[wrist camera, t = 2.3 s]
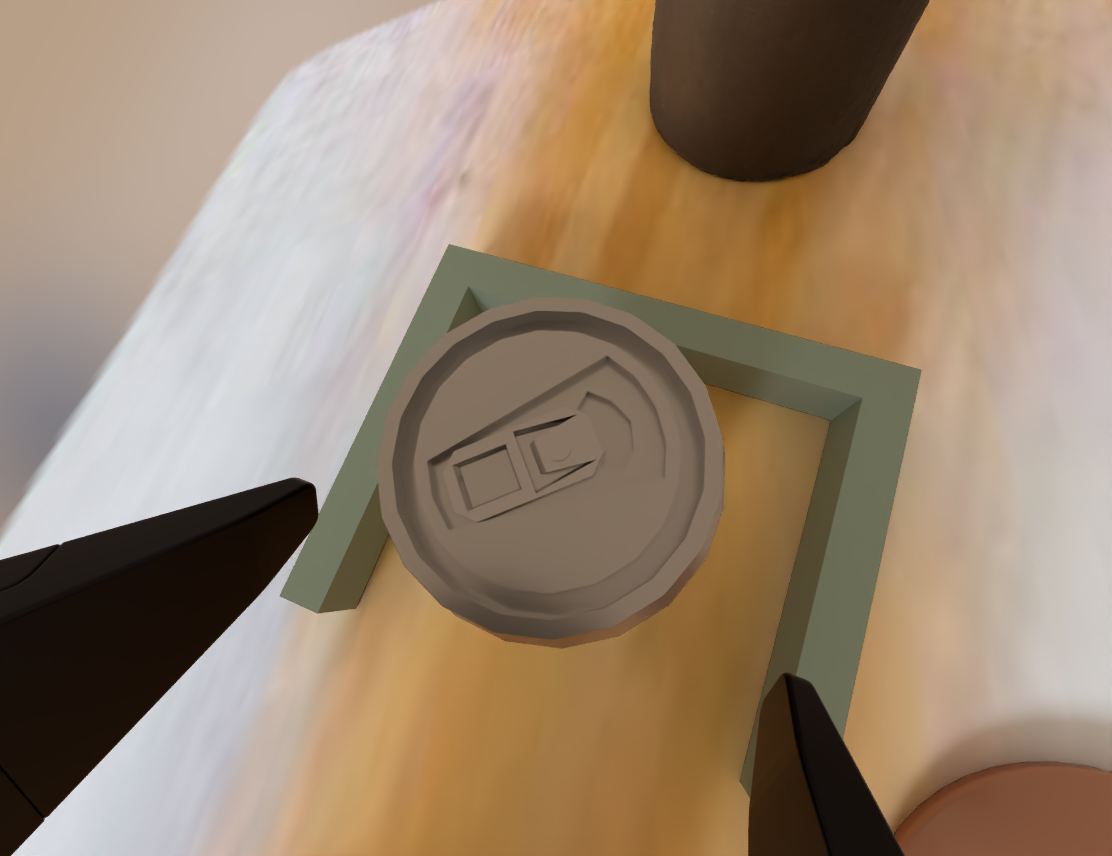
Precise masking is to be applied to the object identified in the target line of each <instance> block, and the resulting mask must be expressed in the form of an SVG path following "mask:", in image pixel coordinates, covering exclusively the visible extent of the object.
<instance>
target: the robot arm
mask: <svg viewBox="0 0 1112 856" xmlns="http://www.w3.org/2000/svg"><path fill="white" fill-rule="evenodd" d="M318 515H319V513H318V504H317V495H316V488H315V486H314V485H313V484H312V483H310V482H307V481H305V480H302V479H300V478H289V479H285V480H282V481H278V482H275V483H271V484H267V485H264V486H260V487H257V488H253V489H250V490H246V491H243V492H239V493H236V494H232V495H229V496H225V497H222V498H218V499H215V500H211V501H208V502H204V503H201V504H197V505H194V506H190V507H187V508H183V509H180V510H176V511H173V512H169V513H166V514H162V515H159V516H155V517H151V518H148V519H144V520H141V521H137V522H134V523H130V524H127V525H123V526H120V527H116V528H113V529H109V530H106V531H102V532H99V533H95V534H92V535H88V536H85V537H81V538H78V539H74V540H70V541H67V542H64V543H62V544H61V545H59V544H56V545H53V546H49V547H46V548H42V549H39V550H35V551H32V552H28V553H24V554H21V555H17V556H13V557H10V558H6V559H2V560H0V856H11V855H12V854H13V853H14V852H15V851H16V850H17V849H18V848H19V847H20V846H21V845H22V844H23V843H24V842H25V840H26V839H27V838H28V837H29V836H30V835H31V834H32V833H33V832H34V831H35V830H36V829H37V828H38V827H39V826H40V825H41V824H42V823H43V822H44V820H45V818H46V817H48V816H49V815H50V814H51V813H52V812H53V811H54V810H55V809H56V808H57V806H58V805H59V804H60V803H61V802H62V801H63V800H64V799H65V798H66V797H67V796H68V795H69V794H70V793H71V792H72V791H73V790H74V789H75V788H76V787H77V786H78V784H79V783H80V782H81V781H82V780H83V779H84V778H85V777H86V776H87V775H88V774H89V773H90V772H91V771H92V770H93V769H94V768H95V767H96V766H97V765H98V764H99V762H100V761H101V760H102V759H103V758H104V757H105V756H106V755H107V754H108V753H109V752H110V751H111V750H112V749H113V748H114V747H115V746H116V745H117V744H118V743H119V742H120V740H121V739H122V738H123V737H124V736H125V735H126V734H127V733H128V732H129V731H130V730H131V729H132V728H133V727H134V726H135V725H136V724H137V723H138V722H139V721H140V720H141V718H142V717H143V716H144V715H145V714H146V713H147V712H148V711H149V710H150V709H151V708H152V707H153V706H154V705H155V704H156V703H157V702H158V701H159V700H160V699H161V698H162V696H163V695H164V694H165V693H166V692H167V691H168V690H169V689H170V688H171V687H172V686H173V685H174V684H175V683H176V682H177V681H178V680H179V679H180V678H181V677H182V676H183V674H184V673H185V672H186V671H187V670H188V669H189V668H190V667H191V666H192V665H193V664H194V663H195V662H196V661H197V660H198V659H199V658H200V657H201V656H202V655H203V654H204V652H205V651H206V650H207V649H208V648H209V647H210V646H211V645H212V644H213V643H214V642H215V641H216V640H217V639H218V638H219V637H220V636H221V635H222V634H223V633H224V632H225V630H226V629H227V628H228V627H229V626H230V625H231V624H232V623H233V622H234V621H235V620H236V619H237V618H238V617H239V616H240V615H241V614H242V613H243V612H244V611H245V610H246V608H247V607H248V606H249V605H250V604H251V603H252V602H253V601H254V600H255V599H256V598H257V597H258V596H259V595H260V594H261V592H262V591H263V590H264V589H265V588H266V587H267V586H268V584H269V583H270V582H271V581H272V580H273V578H274V577H275V576H276V575H277V573H278V572H279V571H280V570H281V568H282V567H283V566H284V564H285V563H286V562H287V561H288V559H289V558H290V557H291V556H292V554H293V553H294V552H295V550H296V549H297V548H298V547H299V545H300V544H301V543H302V542H303V540H304V539H305V538H306V537H307V535H308V534H309V533H310V531H311V530H312V529H313V528H314V526H315V524H316V523H317V520H318ZM748 856H905V855H904V853H903V851H902V849H901V847H900V845H899V843H898V842H897V840H896V838H895V836H894V834H893V832H892V830H891V829H890V827H889V825H888V823H887V821H886V819H885V817H884V815H883V814H882V812H881V810H880V808H879V806H878V804H877V802H876V801H875V799H874V797H873V795H872V793H871V791H870V789H869V788H868V786H867V784H866V782H865V780H864V778H863V776H862V775H861V773H860V771H859V769H858V767H857V765H856V763H855V762H854V760H853V758H852V756H851V754H850V752H849V750H848V749H847V747H846V745H845V743H844V741H843V739H842V737H841V736H840V734H839V732H838V730H837V728H836V726H835V724H834V723H833V721H832V719H831V717H830V715H829V713H828V711H827V709H826V708H825V706H824V704H823V702H822V700H821V698H820V696H819V695H818V693H817V691H816V689H815V687H814V686H813V685H812V683H811V682H809V681H808V680H806V679H804V678H801V677H798V676H796V675H793V674H791V673H788V672H785V673H783V674H781V675H780V676H779V678H778V679H777V681H776V682H775V684H774V685H773V687H772V688H771V690H770V691H769V692H768V694H767V695H766V697H765V698H764V700H763V703H762V706H761V710H760V716H759V725H758V734H757V743H756V751H755V760H754V769H753V777H752V786H751V795H750V806H749V826H748Z"/></svg>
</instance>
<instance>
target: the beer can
mask: <svg viewBox="0 0 1112 856" xmlns="http://www.w3.org/2000/svg"><path fill="white" fill-rule="evenodd" d="M376 467H377V477H378V486H379V496H380V505H381V514H382V519H383V521H384V523H385V525H386V527H387V530H388V532H389V534H390V536H391V538H392V541H393V543H394V545H395V547H396V549H397V552H398V554H399V556H400V558H401V560H402V563H403V565H404V567H405V568H406V569H407V570H408V571H409V572H410V573H411V574H412V575H413V576H414V577H415V578H416V579H417V580H418V581H419V582H420V583H421V584H422V585H423V587H424V588H425V589H426V590H427V591H428V592H429V593H430V594H431V595H432V596H433V597H434V598H435V599H436V600H437V601H438V602H439V603H440V604H441V605H442V606H443V607H445V608H447V609H449V610H450V611H451V612H452V613H453V614H454V615H455V616H457V617H459V618H461V619H463V620H465V621H467V622H469V623H470V624H472V625H474V626H476V627H478V628H480V629H482V630H484V631H486V632H488V633H490V634H492V635H494V636H496V637H498V638H500V639H502V640H504V641H508V642H515V643H523V644H531V645H539V646H546V647H554V648H567V647H571V646H576V645H581V644H585V643H590V642H594V641H599V640H604V639H608V638H613V637H617V636H620V635H622V634H623V633H625V632H626V631H628V630H630V629H631V628H633V627H635V626H636V625H638V624H639V623H641V622H643V621H644V620H646V619H648V618H649V617H651V616H652V615H654V614H656V613H657V612H659V611H661V610H662V609H664V608H665V607H667V606H669V604H670V603H671V602H672V601H673V599H674V598H675V597H676V596H677V595H678V593H679V592H680V591H681V590H682V588H683V587H684V586H685V585H686V583H687V582H688V581H689V580H690V578H691V577H692V576H693V575H694V574H695V572H696V571H697V570H698V569H699V567H700V566H701V565H702V564H703V562H704V561H705V559H706V556H707V554H708V551H709V548H710V545H711V543H712V540H713V537H714V534H715V531H716V529H717V526H718V523H719V520H720V518H721V515H722V512H723V509H724V478H725V452H724V449H723V437H722V433H721V430H720V427H719V424H718V421H717V418H716V415H715V412H714V409H713V406H712V403H711V400H710V397H709V394H708V391H707V388H706V385H705V384H704V383H703V381H702V380H701V379H700V377H699V376H698V375H697V373H696V372H695V371H694V369H693V368H692V366H691V365H690V364H689V362H688V361H687V360H686V358H685V357H684V356H683V354H682V353H681V352H680V350H679V349H678V348H677V346H676V345H675V344H674V343H673V342H671V341H670V340H668V339H667V338H666V337H664V336H663V335H661V334H660V333H659V332H657V331H656V330H654V329H653V328H652V327H650V326H649V325H647V324H646V323H645V322H643V321H642V320H640V319H639V318H638V317H636V316H635V315H633V314H630V313H627V312H624V311H621V310H618V309H615V308H612V307H609V306H606V305H603V304H600V303H597V302H594V301H591V300H588V299H576V298H545V297H535V298H531V299H527V300H523V301H520V302H516V303H512V304H508V305H504V306H500V307H496V308H492V309H488V310H486V311H485V312H483V313H481V314H479V315H478V316H476V317H474V318H472V319H471V320H469V321H467V322H466V323H464V324H462V325H460V326H459V327H457V328H455V329H453V330H452V331H450V332H448V333H446V334H445V335H444V336H443V337H442V338H441V339H440V340H439V341H438V342H437V343H436V344H435V345H434V346H433V347H432V348H431V349H430V350H429V351H428V352H427V353H426V354H425V355H424V356H423V357H422V359H421V360H420V361H419V362H418V363H417V364H416V365H415V366H414V367H413V368H412V369H411V370H410V372H409V373H408V375H407V377H406V379H405V381H404V383H403V385H402V386H401V388H400V390H399V392H398V394H397V396H396V398H395V400H394V401H393V403H392V405H391V407H390V409H389V411H388V413H387V414H386V419H385V424H384V429H383V434H382V439H381V444H380V449H379V454H378V459H377V464H376Z"/></svg>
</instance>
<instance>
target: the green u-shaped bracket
mask: <svg viewBox="0 0 1112 856" xmlns="http://www.w3.org/2000/svg"><path fill="white" fill-rule="evenodd" d="M535 297H545V298H576V299H588V300H591V301H594V302H597V303H600V304H603V305H606V306H609V307H612V308H615V309H618V310H621V311H624V312H627V313H630V314H633V315H635V316H636V317H638V318H639V319H640V320H642V321H643V322H645V323H646V324H647V325H649V326H650V327H652V328H653V329H654V330H656V331H657V332H659V333H660V334H661V335H663V336H664V337H666V338H667V339H668V340H670V341H671V342H673V343H674V344H675V345H676V346H677V348H678V349H679V350H680V352H681V353H682V354H683V356H684V357H685V358H686V360H687V361H688V362H689V364H690V365H691V366H692V368H693V369H694V371H695V372H696V373H697V375H698V376H699V377H700V379H701V380H702V381H703V383H706V384H709V385H713V386H716V387H719V388H723V389H726V390H730V391H733V392H736V393H740V394H743V395H747V396H750V397H753V398H757V399H760V400H763V401H767V402H770V403H774V404H777V405H780V406H784V407H787V408H791V409H794V410H797V411H801V412H804V413H808V414H811V415H814V416H818V417H821V418H825V419H828V420H831V422H830V426H829V430H828V434H827V438H826V442H825V446H824V450H823V454H822V458H821V462H820V466H819V470H818V474H817V478H816V482H815V485H814V489H813V493H812V497H811V501H810V505H809V509H808V513H807V517H806V521H805V525H804V529H803V533H802V537H801V541H800V545H799V549H798V553H797V557H796V561H795V565H794V569H793V573H792V577H791V580H790V584H789V588H788V592H787V596H786V600H785V604H784V608H783V612H782V616H781V620H780V624H779V628H778V632H777V636H776V640H775V644H774V648H773V652H772V656H771V660H770V664H769V668H768V672H767V676H766V679H765V683H764V687H763V691H762V695H761V699H760V703H759V707H758V711H757V715H756V719H755V723H754V727H753V731H752V735H751V739H750V743H749V747H748V751H747V755H746V759H745V763H744V767H743V771H742V774H741V778H740V782H741V784H742V785H743V787H744V789H745V790H746V792H747V794H748V795H749V797H750V795H751V786H752V777H753V769H754V760H755V751H756V743H757V734H758V725H759V716H760V710H761V706H762V703H763V700H764V698H765V697H766V695H767V694H768V692H769V691H770V690H771V688H772V687H773V685H774V684H775V682H776V681H777V679H778V678H779V676H780V675H781V674H783V673H785V672H788V673H791V674H793V675H796V676H798V677H801V678H804V679H806V680H808V681H809V682H811V683H812V685H813V686H814V687H815V689H816V691H817V693H818V695H819V696H820V698H821V700H822V702H823V704H824V706H825V708H826V709H827V711H828V713H829V715H830V717H831V719H832V721H833V723H834V724H835V726H836V728H837V730H838V732H839V734H840V736H841V737H842V739H843V735H844V730H845V726H846V721H847V716H848V712H849V707H850V702H851V698H852V693H853V688H854V684H855V679H856V674H857V670H858V665H859V660H860V655H861V651H862V646H863V641H864V637H865V632H866V627H867V623H868V618H869V613H870V609H871V604H872V599H873V595H874V590H875V585H876V581H877V576H878V571H879V566H880V562H881V557H882V552H883V548H884V543H885V538H886V534H887V529H888V524H889V520H890V515H891V510H892V506H893V501H894V496H895V492H896V487H897V482H898V477H899V473H900V468H901V463H902V459H903V454H904V449H905V445H906V440H907V435H908V431H909V426H910V421H911V417H912V412H913V407H914V403H915V398H916V393H917V388H918V384H919V379H920V374H921V370H920V369H916V368H913V367H909V366H905V365H901V364H898V363H894V362H890V361H886V360H883V359H879V358H875V357H871V356H868V355H864V354H860V353H856V352H853V351H849V350H845V349H841V348H837V347H834V346H830V345H826V344H822V343H819V342H815V341H811V340H807V339H804V338H800V337H796V336H792V335H789V334H785V333H781V332H777V331H774V330H770V329H766V328H762V327H759V326H755V325H751V324H747V323H744V322H740V321H736V320H732V319H728V318H725V317H721V316H717V315H713V314H710V313H706V312H702V311H698V310H695V309H691V308H687V307H683V306H680V305H676V304H672V303H668V302H665V301H661V300H657V299H653V298H650V297H646V296H642V295H638V294H634V293H631V292H627V291H623V290H619V289H616V288H612V287H608V286H604V285H601V284H597V283H593V282H589V281H586V280H582V279H578V278H574V277H571V276H567V275H563V274H559V273H556V272H552V271H548V270H544V269H540V268H537V267H533V266H529V265H525V264H522V263H518V262H514V261H510V260H507V259H503V258H499V257H495V256H492V255H488V254H484V253H480V252H477V251H473V250H469V249H465V248H462V247H458V246H454V245H450V244H449V245H448V247H447V249H446V251H445V253H444V255H443V258H442V260H441V262H440V264H439V266H438V268H437V270H436V272H435V274H434V276H433V278H432V280H431V282H430V285H429V287H428V289H427V291H426V293H425V295H424V297H423V299H422V301H421V303H420V305H419V307H418V309H417V312H416V314H415V316H414V318H413V320H412V322H411V324H410V326H409V328H408V330H407V332H406V334H405V336H404V339H403V341H402V343H401V345H400V347H399V349H398V351H397V353H396V355H395V357H394V359H393V361H392V363H391V366H390V368H389V370H388V372H387V374H386V376H385V378H384V380H383V382H382V384H381V386H380V388H379V390H378V393H377V395H376V397H375V399H374V401H373V403H372V405H371V407H370V409H369V411H368V413H367V415H366V417H365V420H364V422H363V424H362V426H361V428H360V430H359V432H358V434H357V436H356V438H355V440H354V442H353V444H352V447H351V449H350V451H349V453H348V455H347V457H346V459H345V461H344V463H343V465H342V467H341V469H340V471H339V474H338V476H337V478H336V480H335V482H334V484H333V486H332V488H331V490H330V492H329V494H328V496H327V498H326V501H325V503H324V505H323V507H322V509H321V511H320V513H319V515H318V520H317V523H316V524H315V526H314V528H313V529H312V530H311V532H310V534H309V536H308V538H307V540H306V542H305V544H304V546H303V548H302V550H301V552H300V555H299V557H298V559H297V561H296V563H295V565H294V567H293V569H292V571H291V573H290V575H289V577H288V579H287V582H286V584H285V586H284V588H283V590H282V592H281V594H280V596H281V597H283V598H285V599H287V600H289V601H291V602H294V603H296V604H298V605H300V606H302V607H304V608H307V609H309V610H311V611H313V612H315V613H325V612H333V611H341V610H348V609H356V607H357V604H358V602H359V600H360V598H361V595H362V593H363V591H364V589H365V586H366V584H367V582H368V580H369V577H370V575H371V573H372V571H373V568H374V566H375V564H376V562H377V559H378V557H379V555H380V553H381V550H382V548H383V546H384V544H385V541H386V539H387V537H388V535H389V532H388V530H387V527H386V525H385V523H384V521H383V519H382V514H381V505H380V496H379V486H378V477H377V467H376V464H377V459H378V454H379V449H380V444H381V439H382V434H383V429H384V424H385V419H386V414H387V413H388V411H389V409H390V407H391V405H392V403H393V401H394V400H395V398H396V396H397V394H398V392H399V390H400V388H401V386H402V385H403V383H404V381H405V379H406V377H407V375H408V373H409V372H410V370H411V369H412V368H413V367H414V366H415V365H416V364H417V363H418V362H419V361H420V360H421V359H422V357H423V356H424V355H425V354H426V353H427V352H428V351H429V350H430V349H431V348H432V347H433V346H434V345H435V344H436V343H437V342H438V341H439V340H440V339H441V338H442V337H443V336H444V335H445V334H446V333H448V332H450V331H452V330H453V329H455V328H457V327H459V326H460V325H462V324H464V323H466V322H467V321H469V320H471V319H472V318H474V317H476V316H478V315H479V314H481V313H483V312H485V311H486V310H488V309H492V308H496V307H500V306H504V305H508V304H512V303H516V302H520V301H523V300H527V299H531V298H535Z"/></svg>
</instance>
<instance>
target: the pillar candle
mask: <svg viewBox="0 0 1112 856" xmlns="http://www.w3.org/2000/svg"><path fill="white" fill-rule="evenodd" d="M928 3H929V0H656V3H655V5H656V7H655V13H654V21H653V31H652V35H653V36H652V47H651V80H650V108H651V114H652V118H653V120H654V124H655V126H656V128H657V130H658V132H659V133H660V134H661V136H662V138H663V139H664V140H665V142H666V143H667V144H669V145H670V146H671V147H672V148H673V149H674V150H675V151H676V152H677V153H678V154H679V155H680V156H682V157H683V158H684V159H686V160H687V161H688V162H690V163H691V164H692V165H695V166H696V167H697V168H699V169H701V170H703V171H706V172H708V173H711V174H716V175H718V176H720V177H724V178H732V179H738V180H740V181H746V180H750V181H754V180H755V181H765V180H776V179H782V178H785V177H788V176H794V175H795V174H799V173H805V172H809V171H811V170H813V169H816V168H818V167H821V166H823V165H824V164H826V163H828V162H829V161H830V159H831V158H832V157H833V156H835V155H836V154H837V153H838V152H839V151H840V150H841V149H842V148H843V147H845V146H847V145H848V144H850V143H851V141H852V140H853V139H854V138H855V137H856V135H857V133H858V132H859V130H860V128H861V126H862V125H863V124H864V122H865V120H866V118H867V116H868V114H869V112H870V110H871V108H872V107H873V105H874V103H875V101H876V99H877V97H878V96H879V94H880V92H881V90H882V88H883V86H884V84H885V82H886V80H887V78H888V76H889V74H890V73H891V71H892V70H893V68H894V66H895V64H896V62H897V60H898V59H899V57H900V55H901V53H902V51H903V50H904V48H905V46H906V44H907V42H908V40H909V38H910V36H911V34H912V32H913V30H914V28H915V26H916V24H917V23H918V21H919V20H920V18H921V16H922V14H923V12H924V10H925V8H926V6H927V5H928Z"/></svg>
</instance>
